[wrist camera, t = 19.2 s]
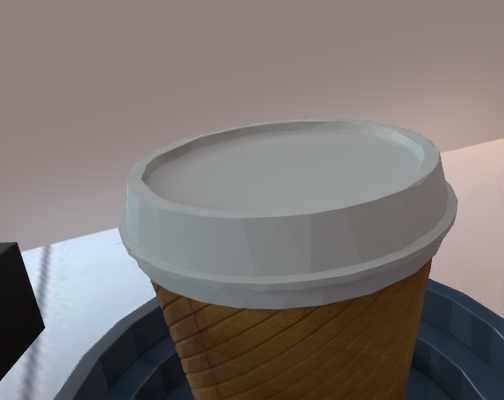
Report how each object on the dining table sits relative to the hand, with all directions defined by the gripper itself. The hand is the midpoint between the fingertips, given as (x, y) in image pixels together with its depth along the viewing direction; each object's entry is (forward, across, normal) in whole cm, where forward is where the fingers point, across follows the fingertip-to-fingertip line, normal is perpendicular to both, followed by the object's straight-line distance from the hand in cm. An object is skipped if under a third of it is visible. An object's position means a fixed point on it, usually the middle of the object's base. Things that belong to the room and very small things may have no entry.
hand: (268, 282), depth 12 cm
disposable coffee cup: (+3, 0, -10) cm, 10 cm away
